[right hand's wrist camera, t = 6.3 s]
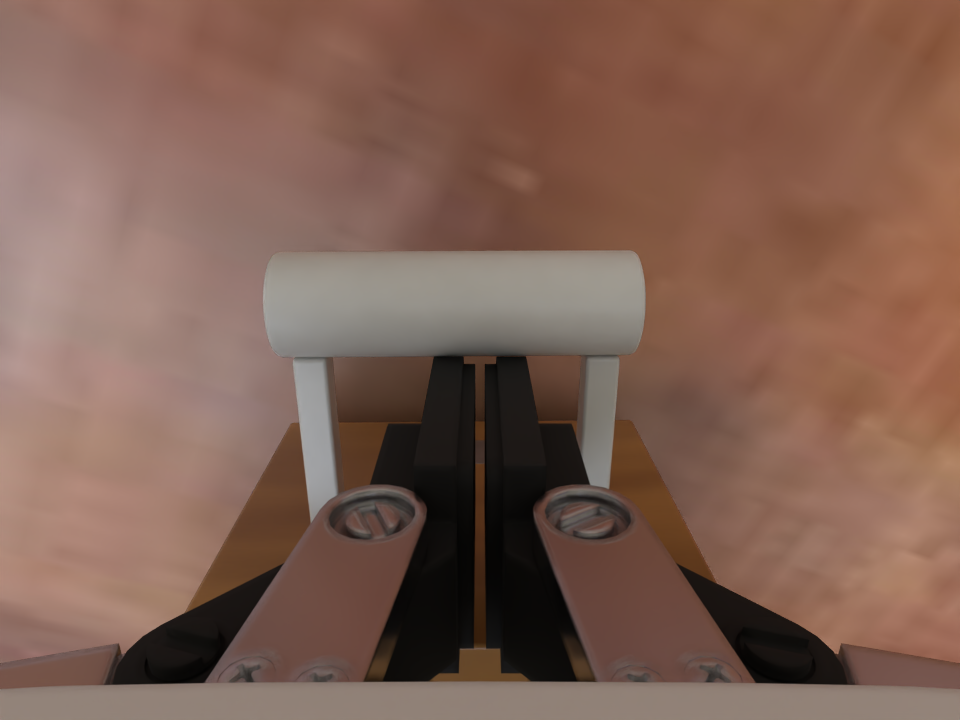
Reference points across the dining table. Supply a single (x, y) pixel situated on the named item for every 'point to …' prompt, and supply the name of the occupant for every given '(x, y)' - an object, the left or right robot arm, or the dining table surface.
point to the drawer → (442, 332)
